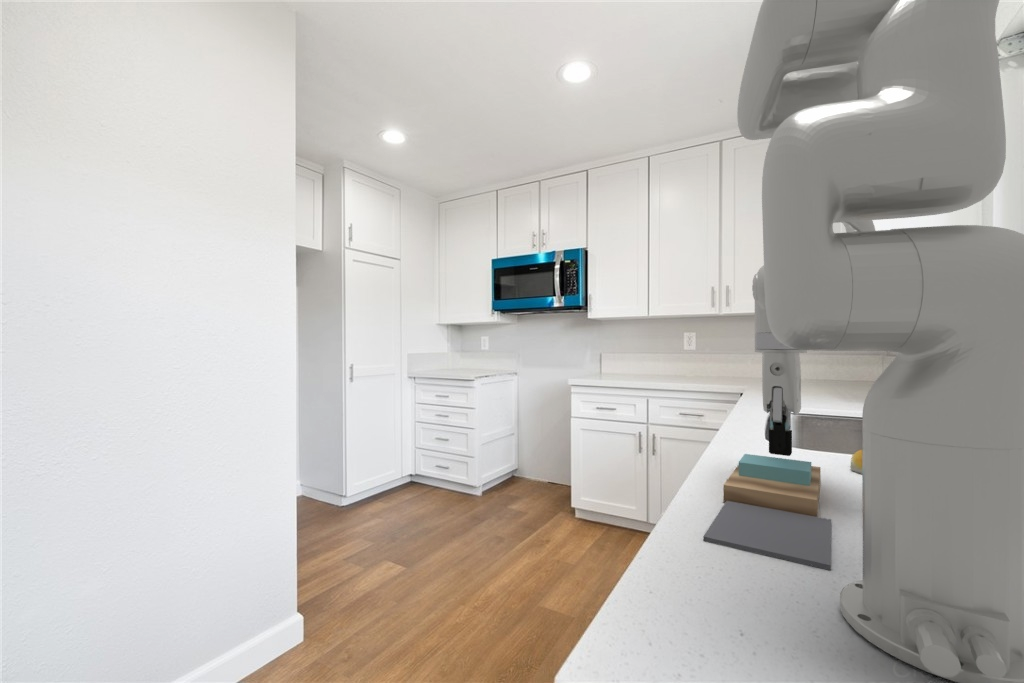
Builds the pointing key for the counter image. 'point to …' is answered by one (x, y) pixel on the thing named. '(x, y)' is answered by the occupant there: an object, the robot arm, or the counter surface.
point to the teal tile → (775, 469)
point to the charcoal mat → (773, 533)
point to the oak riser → (775, 493)
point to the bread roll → (856, 462)
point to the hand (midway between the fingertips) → (780, 453)
